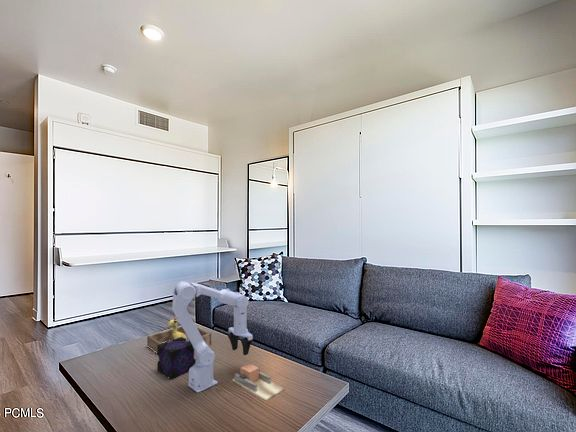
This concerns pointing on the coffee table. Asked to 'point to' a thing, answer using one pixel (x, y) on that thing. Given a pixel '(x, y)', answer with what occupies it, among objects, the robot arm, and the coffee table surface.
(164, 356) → the energy cube
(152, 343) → the display tray
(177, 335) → the stuffed giraffe
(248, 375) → the block
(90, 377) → the coffee table surface
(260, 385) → the chute
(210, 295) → the robot arm
